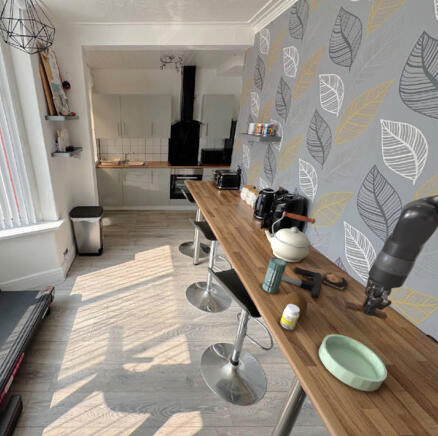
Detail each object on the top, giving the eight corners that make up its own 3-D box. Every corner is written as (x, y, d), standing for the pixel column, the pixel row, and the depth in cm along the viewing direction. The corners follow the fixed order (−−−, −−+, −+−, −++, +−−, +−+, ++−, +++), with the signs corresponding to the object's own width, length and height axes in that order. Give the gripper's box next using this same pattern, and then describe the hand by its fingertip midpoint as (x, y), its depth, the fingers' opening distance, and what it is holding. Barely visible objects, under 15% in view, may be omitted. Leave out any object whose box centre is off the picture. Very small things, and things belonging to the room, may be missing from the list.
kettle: (311, 256, 133) (326, 216, 123) (305, 270, 120) (321, 226, 110) (265, 241, 148) (275, 204, 138) (255, 252, 135) (266, 212, 125)
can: (280, 291, 105) (289, 263, 99) (271, 295, 103) (280, 266, 96) (268, 282, 110) (276, 255, 104) (259, 286, 107) (267, 258, 101)
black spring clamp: (280, 281, 107) (323, 296, 98) (287, 262, 122) (325, 273, 113) (278, 287, 108) (321, 302, 99) (285, 268, 123) (323, 279, 114)
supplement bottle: (290, 320, 90) (296, 303, 87) (297, 330, 86) (304, 313, 82) (277, 319, 90) (283, 302, 87) (283, 329, 86) (290, 312, 82)
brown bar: (383, 315, 74) (385, 311, 74) (385, 321, 72) (388, 317, 71) (344, 302, 79) (345, 299, 78) (345, 307, 77) (347, 304, 76)
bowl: (371, 357, 77) (377, 347, 75) (388, 402, 65) (395, 392, 63) (316, 336, 84) (320, 327, 82) (321, 373, 71) (326, 364, 69)
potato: (282, 318, 91) (288, 303, 88) (280, 298, 101) (285, 283, 98) (306, 326, 88) (313, 310, 85) (302, 304, 98) (308, 289, 95)
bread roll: (343, 291, 106) (346, 285, 105) (321, 282, 112) (324, 276, 110) (347, 281, 113) (350, 275, 112) (326, 273, 119) (329, 267, 117)
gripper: (419, 284, 61) (388, 332, 68) (400, 259, 72) (375, 303, 79) (381, 275, 64) (356, 321, 71) (368, 252, 75) (347, 294, 82)
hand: (366, 311), depth 75 cm, fingers closed on brown bar, 1 cm apart
